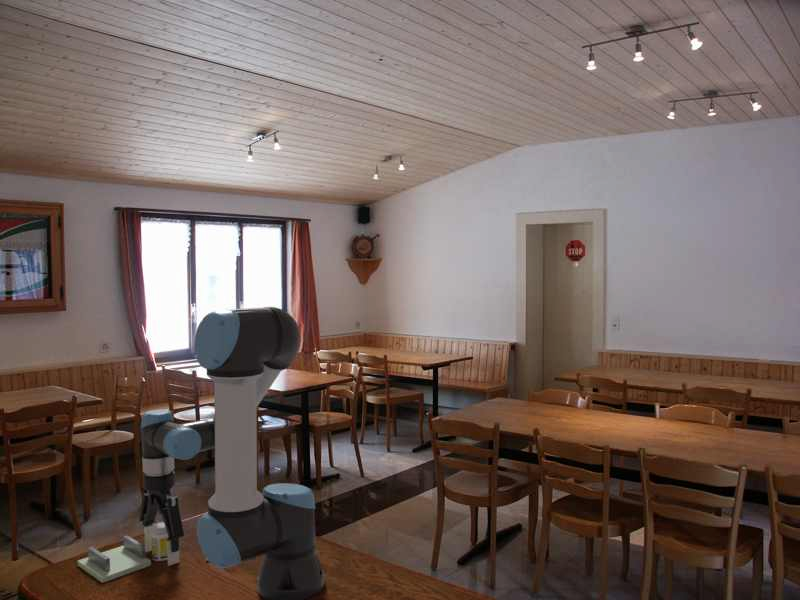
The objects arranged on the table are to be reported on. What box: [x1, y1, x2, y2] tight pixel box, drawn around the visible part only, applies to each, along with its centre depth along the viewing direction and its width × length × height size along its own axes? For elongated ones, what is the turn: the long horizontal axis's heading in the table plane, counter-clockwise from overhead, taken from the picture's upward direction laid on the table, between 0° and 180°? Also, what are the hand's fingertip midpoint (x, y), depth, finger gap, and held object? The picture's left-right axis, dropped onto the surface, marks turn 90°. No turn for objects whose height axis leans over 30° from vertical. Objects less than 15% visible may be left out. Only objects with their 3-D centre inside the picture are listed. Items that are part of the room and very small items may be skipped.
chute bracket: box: [87, 535, 147, 572], centre depth 165 cm, size 10×10×3 cm
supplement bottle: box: [151, 521, 169, 562], centre depth 168 cm, size 5×5×8 cm
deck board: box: [77, 544, 152, 584], centre depth 164 cm, size 14×12×1 cm
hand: (161, 556), depth 168 cm, fingers open, 11 cm apart
